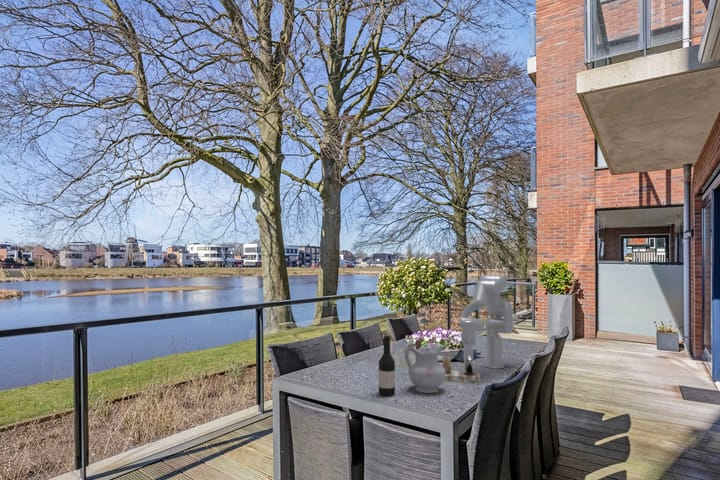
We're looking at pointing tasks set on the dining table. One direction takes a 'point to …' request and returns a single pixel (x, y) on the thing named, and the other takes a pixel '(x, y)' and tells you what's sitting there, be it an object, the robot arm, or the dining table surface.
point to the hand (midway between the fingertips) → (468, 371)
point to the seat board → (458, 373)
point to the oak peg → (466, 369)
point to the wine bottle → (386, 371)
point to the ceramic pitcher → (426, 368)
